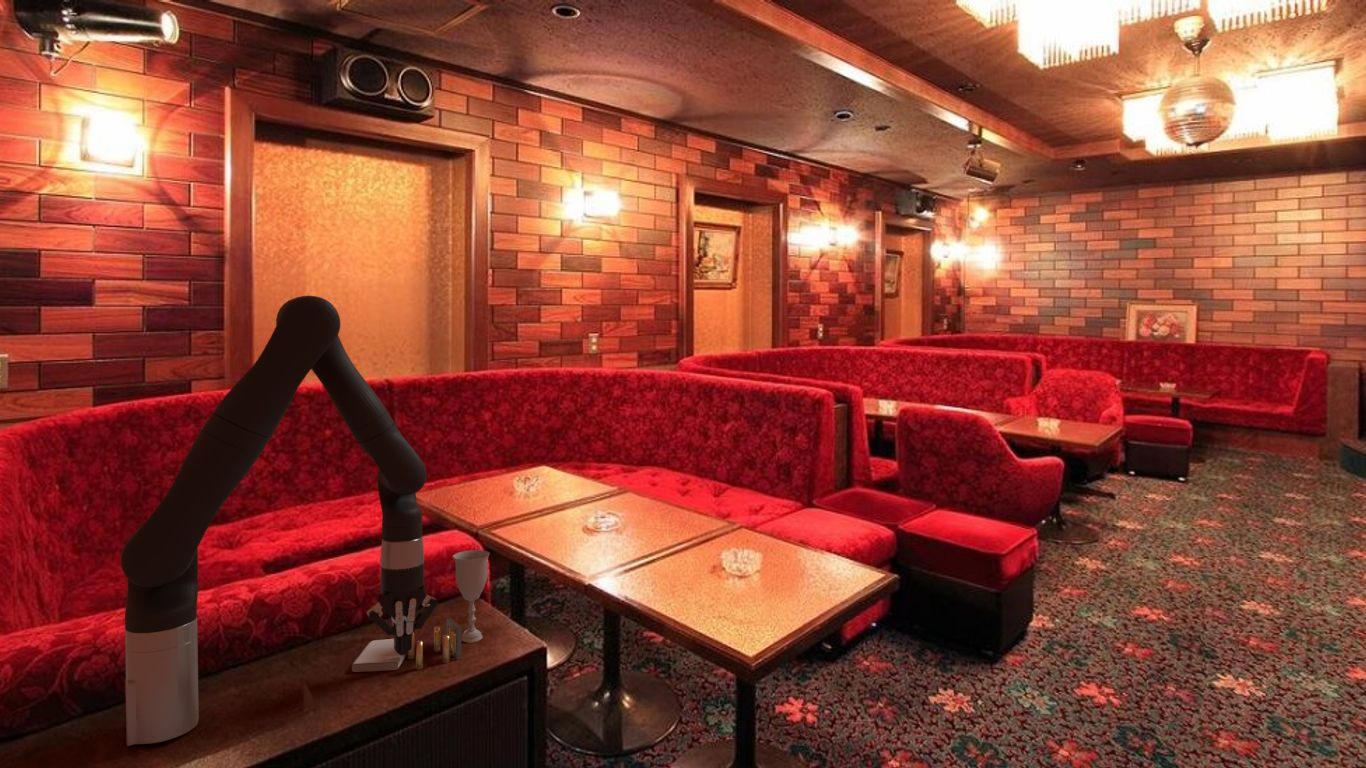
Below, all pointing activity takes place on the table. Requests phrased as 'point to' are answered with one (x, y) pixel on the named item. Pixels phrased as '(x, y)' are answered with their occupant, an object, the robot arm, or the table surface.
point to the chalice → (471, 585)
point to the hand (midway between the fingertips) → (403, 653)
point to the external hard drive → (378, 657)
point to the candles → (449, 644)
